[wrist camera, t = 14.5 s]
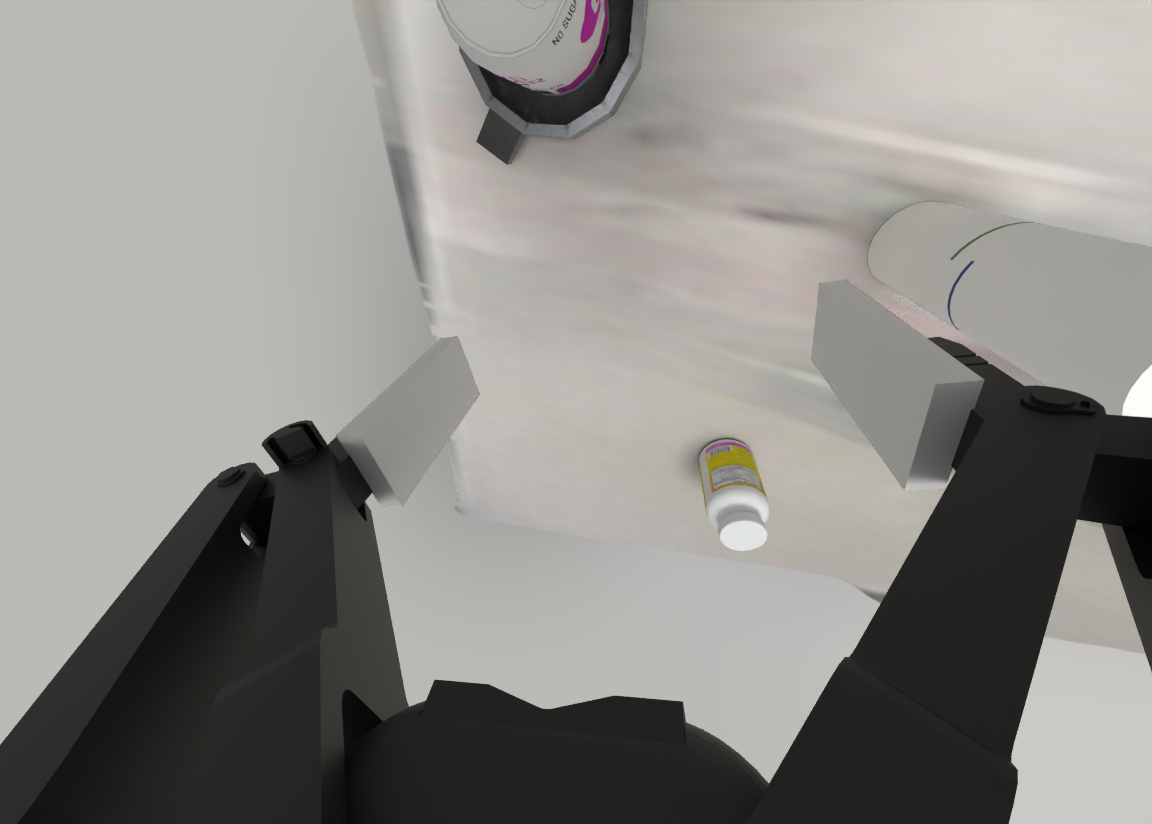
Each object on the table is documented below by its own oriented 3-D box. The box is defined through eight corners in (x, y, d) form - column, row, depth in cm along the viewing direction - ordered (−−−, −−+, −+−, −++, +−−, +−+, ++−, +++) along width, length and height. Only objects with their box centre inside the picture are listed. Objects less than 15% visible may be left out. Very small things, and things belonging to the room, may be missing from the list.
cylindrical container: (851, 276, 38) (1075, 430, 18) (899, 192, 34) (1261, 268, 14) (925, 293, 38) (1239, 470, 18) (983, 211, 34) (1476, 318, 14)
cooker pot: (546, -213, 26) (530, -265, 23) (709, -54, 28) (716, -79, 25) (439, 102, 36) (418, 98, 33) (566, 198, 39) (558, 203, 35)
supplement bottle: (734, 482, 54) (754, 565, 44) (689, 466, 54) (697, 545, 44) (763, 447, 51) (792, 528, 40) (714, 429, 50) (730, 505, 40)
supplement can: (608, -58, 28) (573, -210, 16) (614, 90, 33) (590, 60, 21) (498, -34, 30) (390, -157, 18) (518, 104, 34) (443, 84, 22)
